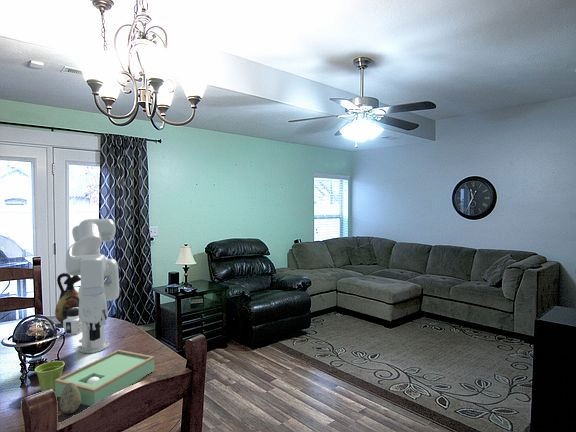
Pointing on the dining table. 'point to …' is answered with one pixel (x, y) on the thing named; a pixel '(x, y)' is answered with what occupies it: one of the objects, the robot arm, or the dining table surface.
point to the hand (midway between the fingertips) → (95, 339)
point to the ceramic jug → (66, 296)
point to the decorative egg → (70, 398)
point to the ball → (92, 380)
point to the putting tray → (107, 375)
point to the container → (72, 321)
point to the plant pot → (49, 374)
